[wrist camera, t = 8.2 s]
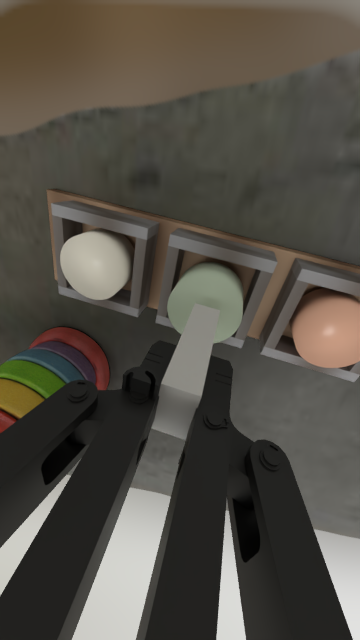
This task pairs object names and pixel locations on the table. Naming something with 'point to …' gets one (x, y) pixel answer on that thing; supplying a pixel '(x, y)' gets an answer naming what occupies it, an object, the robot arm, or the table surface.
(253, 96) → the table surface
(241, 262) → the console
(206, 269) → the sage button
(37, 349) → the stacking bear
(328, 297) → the terracotta button
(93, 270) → the ivory button
